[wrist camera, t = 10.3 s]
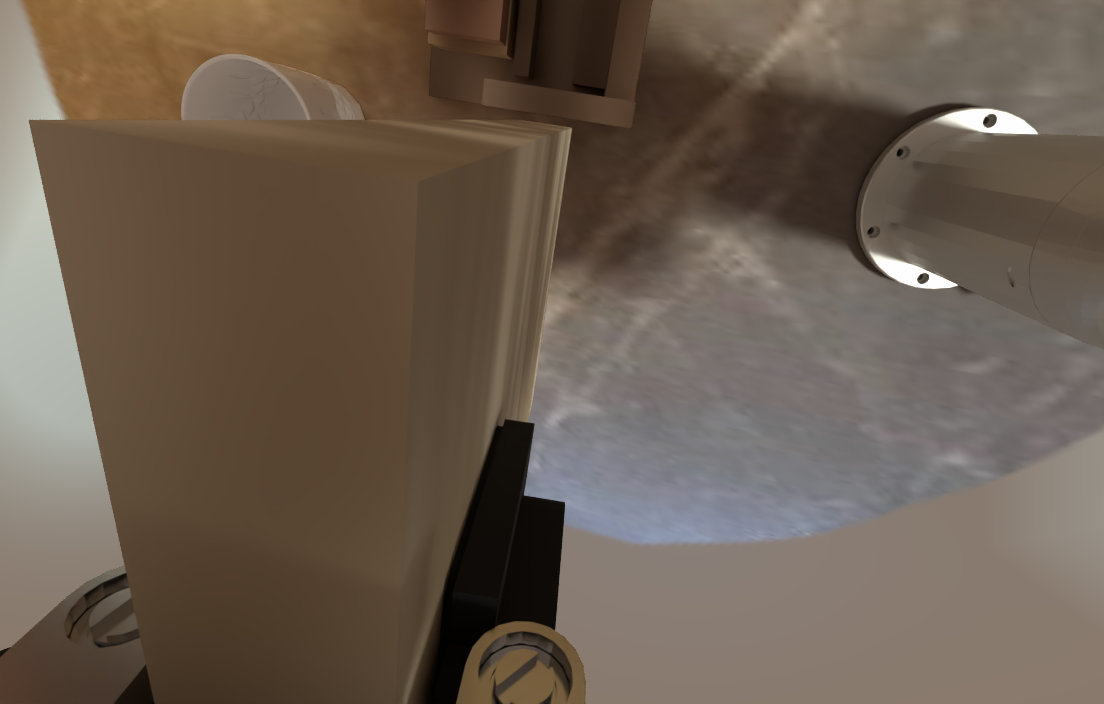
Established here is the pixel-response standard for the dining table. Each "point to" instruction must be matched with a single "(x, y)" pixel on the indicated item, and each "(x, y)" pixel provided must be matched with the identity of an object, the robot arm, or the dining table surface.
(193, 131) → the birch sheet
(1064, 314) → the robot arm
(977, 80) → the dining table surface
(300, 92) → the white cup
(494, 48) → the offcut bundle
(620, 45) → the walnut rack
